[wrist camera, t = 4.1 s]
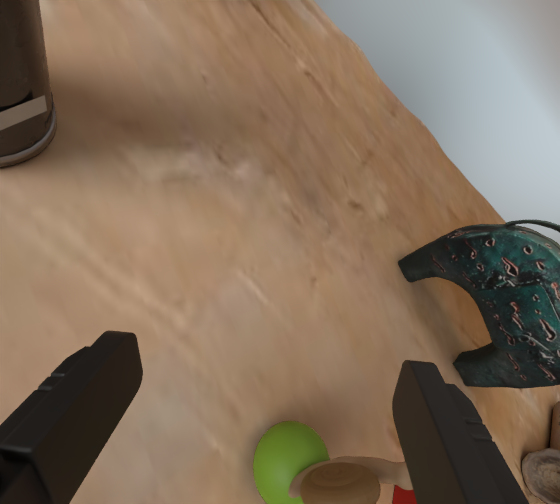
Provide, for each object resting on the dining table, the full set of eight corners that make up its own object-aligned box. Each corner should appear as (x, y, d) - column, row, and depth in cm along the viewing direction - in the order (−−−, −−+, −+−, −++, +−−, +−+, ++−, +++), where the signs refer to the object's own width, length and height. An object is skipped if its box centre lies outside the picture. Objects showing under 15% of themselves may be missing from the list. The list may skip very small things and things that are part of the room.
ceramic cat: (484, 378, 41) (739, 378, 25) (465, 409, 37) (754, 432, 21) (410, 246, 42) (605, 165, 26) (385, 262, 39) (596, 179, 22)
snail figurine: (317, 479, 25) (460, 541, 15) (246, 513, 22) (371, 621, 12) (305, 406, 27) (427, 422, 17) (236, 428, 23) (341, 463, 14)
